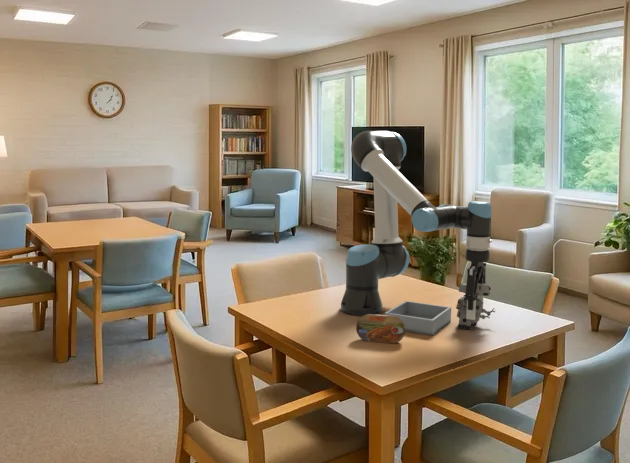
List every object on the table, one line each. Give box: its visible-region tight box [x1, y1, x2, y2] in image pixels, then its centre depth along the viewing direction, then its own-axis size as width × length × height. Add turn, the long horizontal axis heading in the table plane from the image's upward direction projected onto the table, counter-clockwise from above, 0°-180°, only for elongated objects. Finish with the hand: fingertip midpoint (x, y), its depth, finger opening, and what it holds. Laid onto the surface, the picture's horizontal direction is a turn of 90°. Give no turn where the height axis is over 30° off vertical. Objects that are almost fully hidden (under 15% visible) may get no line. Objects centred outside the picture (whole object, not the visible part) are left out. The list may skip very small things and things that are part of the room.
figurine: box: [455, 282, 496, 331], centre depth 209 cm, size 9×12×15 cm
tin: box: [355, 314, 406, 344], centre depth 194 cm, size 15×3×8 cm, turn 77°
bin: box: [384, 300, 452, 337], centre depth 212 cm, size 17×19×5 cm
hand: (474, 315), depth 209 cm, fingers closed on figurine, 9 cm apart
